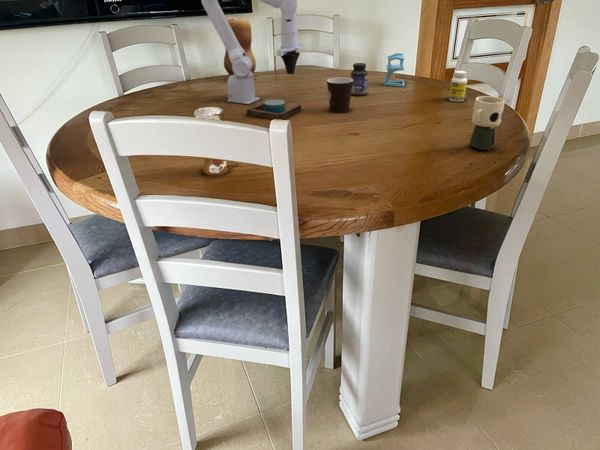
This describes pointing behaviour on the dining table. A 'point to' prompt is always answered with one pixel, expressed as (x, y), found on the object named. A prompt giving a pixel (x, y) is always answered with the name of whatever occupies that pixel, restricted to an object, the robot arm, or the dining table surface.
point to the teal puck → (275, 106)
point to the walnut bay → (258, 112)
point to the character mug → (486, 121)
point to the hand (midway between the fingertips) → (290, 73)
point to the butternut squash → (240, 41)
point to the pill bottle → (359, 79)
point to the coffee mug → (339, 94)
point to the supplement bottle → (458, 86)
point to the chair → (394, 68)
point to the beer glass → (212, 165)
